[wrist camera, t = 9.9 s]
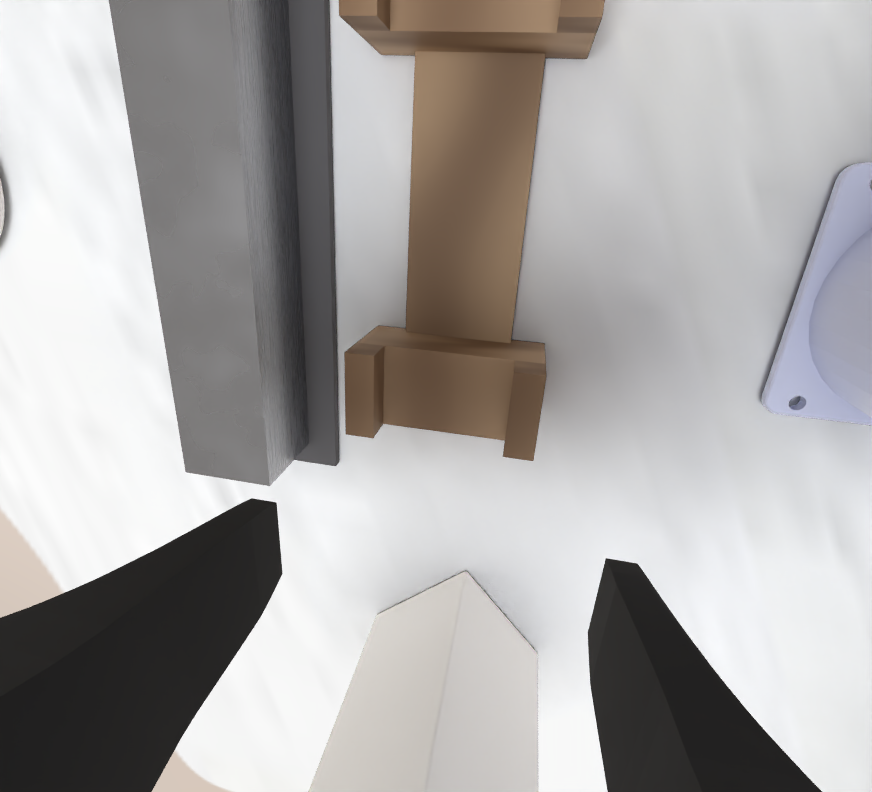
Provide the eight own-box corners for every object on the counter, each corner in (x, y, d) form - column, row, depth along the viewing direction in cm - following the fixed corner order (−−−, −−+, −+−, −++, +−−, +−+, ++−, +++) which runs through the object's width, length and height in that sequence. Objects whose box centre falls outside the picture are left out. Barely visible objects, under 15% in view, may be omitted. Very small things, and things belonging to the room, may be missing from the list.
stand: (609, -92, 13) (634, -189, 10) (531, 426, 20) (531, 474, 16) (382, -86, 14) (336, -173, 11) (377, 406, 21) (345, 446, 17)
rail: (279, -182, 14) (202, -297, 11) (309, 443, 21) (269, 485, 18) (168, -175, 14) (62, -283, 11) (236, 432, 22) (185, 471, 19)
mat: (324, -225, 14) (317, -237, 13) (339, 461, 22) (335, 466, 22) (133, -211, 14) (122, -221, 14) (218, 443, 23) (213, 447, 23)
